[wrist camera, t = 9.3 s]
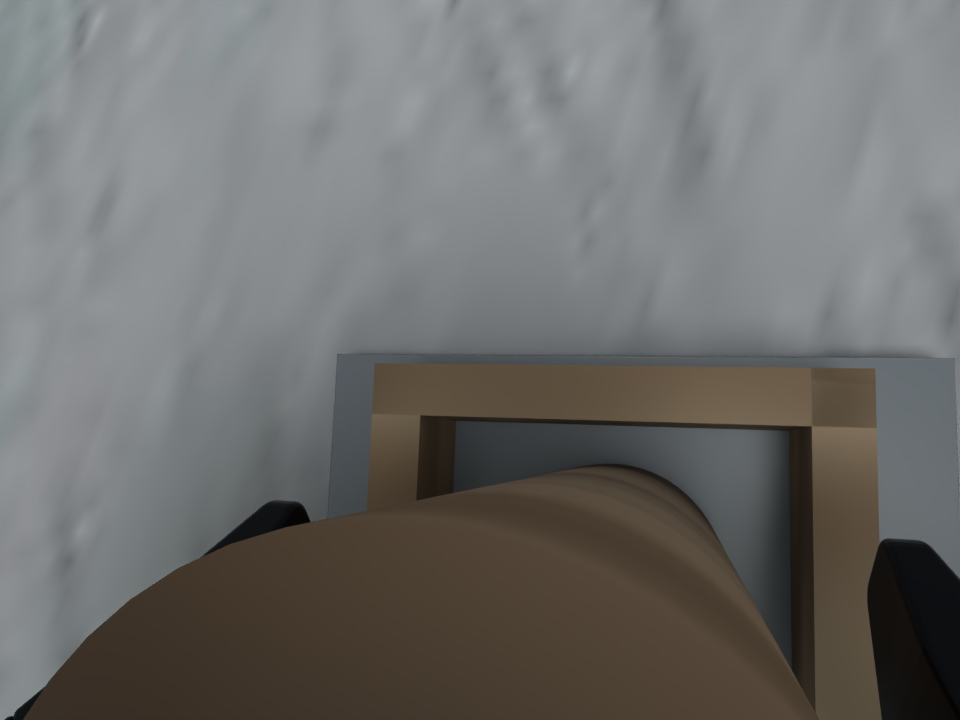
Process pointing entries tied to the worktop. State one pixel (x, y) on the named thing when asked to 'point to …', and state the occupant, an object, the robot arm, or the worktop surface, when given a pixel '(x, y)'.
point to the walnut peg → (450, 618)
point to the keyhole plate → (691, 465)
